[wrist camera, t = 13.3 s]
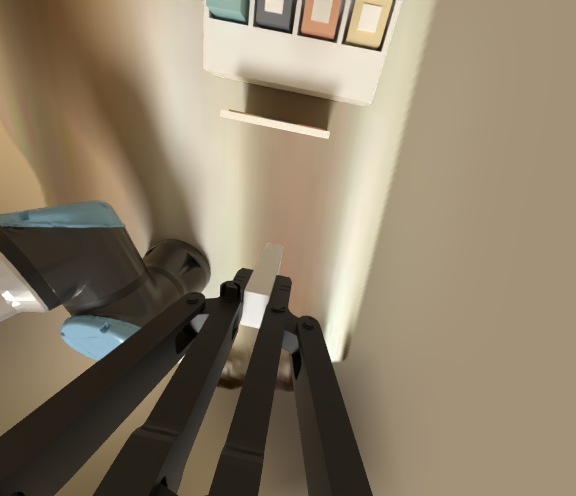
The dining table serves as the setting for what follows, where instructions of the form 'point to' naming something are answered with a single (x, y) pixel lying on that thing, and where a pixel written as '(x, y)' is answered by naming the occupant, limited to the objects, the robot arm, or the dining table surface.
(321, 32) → the key
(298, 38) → the keypad
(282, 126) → the placard
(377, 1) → the key
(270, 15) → the key
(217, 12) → the key
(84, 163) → the dining table surface
